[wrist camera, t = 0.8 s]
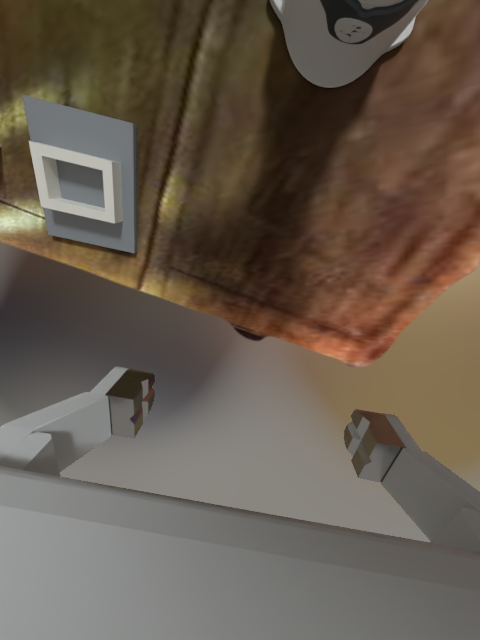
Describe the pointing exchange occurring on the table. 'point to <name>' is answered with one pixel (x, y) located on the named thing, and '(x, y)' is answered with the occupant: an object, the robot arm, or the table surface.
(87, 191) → the cradle
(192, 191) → the table surface
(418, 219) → the table surface
